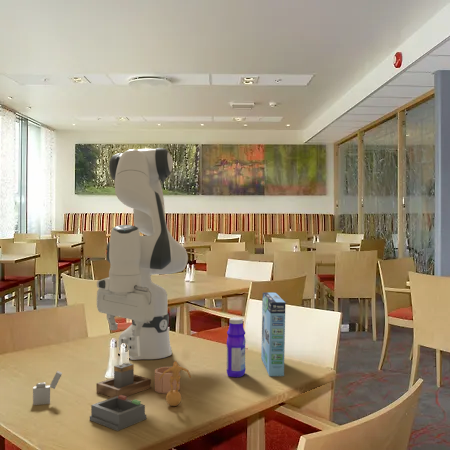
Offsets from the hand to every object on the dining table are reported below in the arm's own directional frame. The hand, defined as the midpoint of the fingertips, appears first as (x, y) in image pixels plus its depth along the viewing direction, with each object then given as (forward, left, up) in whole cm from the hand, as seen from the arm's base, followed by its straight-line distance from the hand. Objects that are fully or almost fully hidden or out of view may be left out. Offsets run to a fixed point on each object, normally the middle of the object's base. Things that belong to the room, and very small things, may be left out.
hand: (124, 332), depth 147 cm
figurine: (+20, -1, -16) cm, 26 cm away
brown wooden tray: (0, 0, -16) cm, 16 cm away
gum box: (+21, +44, -16) cm, 52 cm away
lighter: (-8, -19, -16) cm, 26 cm away
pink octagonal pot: (+9, +8, -16) cm, 20 cm away
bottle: (+16, +31, -16) cm, 38 cm away
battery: (0, -1, -15) cm, 15 cm away
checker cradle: (+15, -15, -16) cm, 27 cm away
